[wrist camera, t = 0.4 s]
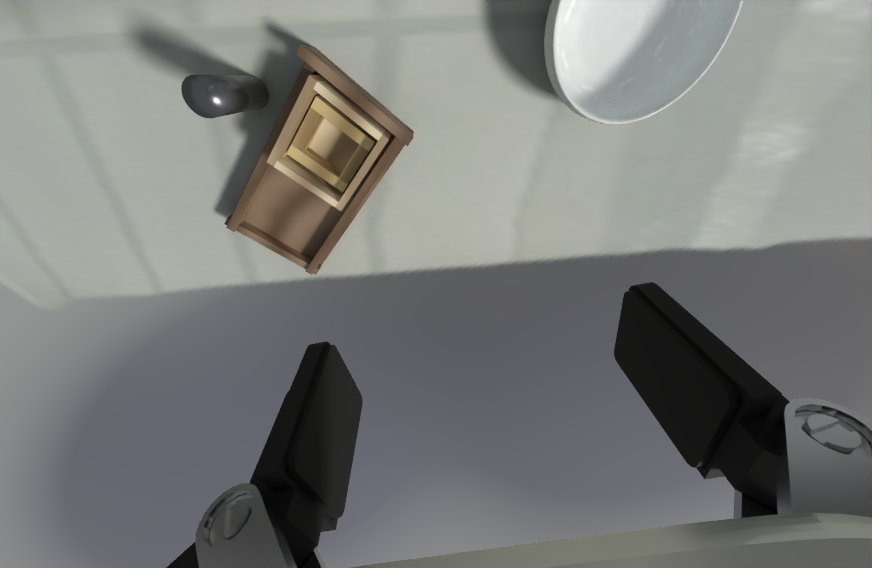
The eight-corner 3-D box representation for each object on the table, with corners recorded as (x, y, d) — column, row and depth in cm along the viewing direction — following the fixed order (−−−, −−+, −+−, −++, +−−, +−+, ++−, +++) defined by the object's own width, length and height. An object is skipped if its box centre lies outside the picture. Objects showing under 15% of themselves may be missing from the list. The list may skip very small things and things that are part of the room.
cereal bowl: (530, 130, 39) (550, 140, 33) (527, -60, 30) (554, -93, 24) (671, 100, 38) (718, 105, 32) (713, -107, 28) (790, -155, 23)
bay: (233, 216, 43) (214, 231, 39) (315, 47, 33) (300, 43, 29) (320, 266, 48) (310, 284, 44) (413, 131, 38) (412, 138, 34)
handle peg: (233, 94, 35) (176, 100, 27) (244, 67, 34) (187, 65, 26) (261, 114, 36) (215, 126, 28) (273, 89, 35) (228, 93, 27)
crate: (283, 152, 38) (266, 162, 33) (322, 74, 34) (309, 75, 29) (348, 197, 41) (341, 211, 37) (392, 132, 37) (388, 139, 33)
